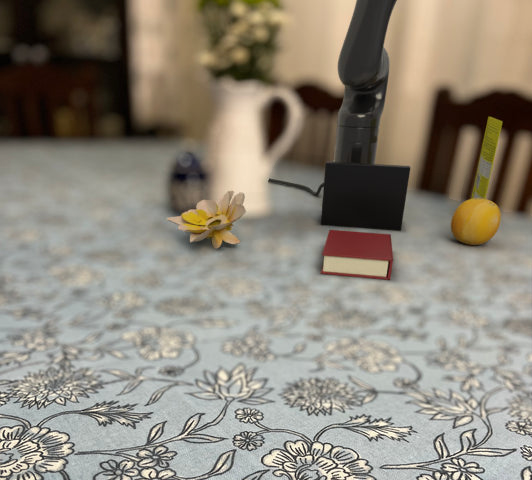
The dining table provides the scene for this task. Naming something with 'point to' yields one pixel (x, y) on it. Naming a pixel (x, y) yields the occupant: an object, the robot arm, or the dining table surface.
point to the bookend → (364, 195)
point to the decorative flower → (212, 219)
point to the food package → (486, 158)
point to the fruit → (475, 221)
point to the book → (358, 254)
